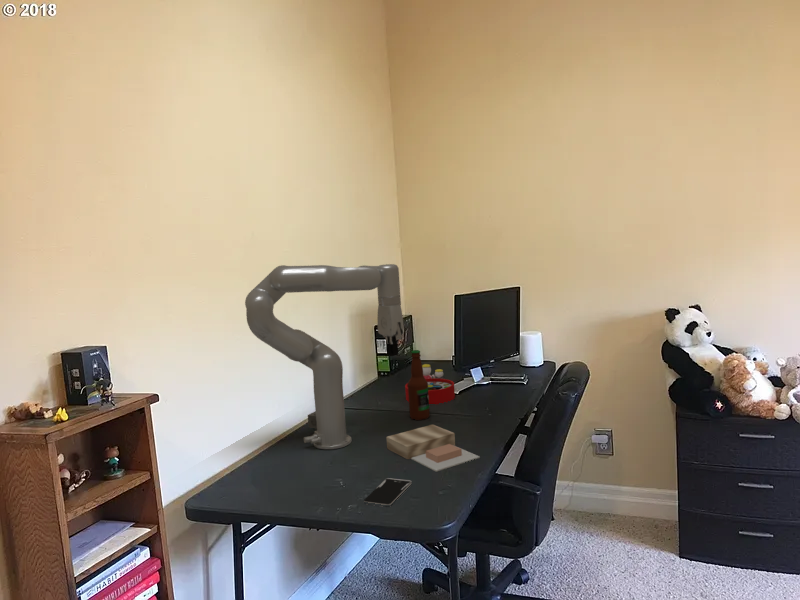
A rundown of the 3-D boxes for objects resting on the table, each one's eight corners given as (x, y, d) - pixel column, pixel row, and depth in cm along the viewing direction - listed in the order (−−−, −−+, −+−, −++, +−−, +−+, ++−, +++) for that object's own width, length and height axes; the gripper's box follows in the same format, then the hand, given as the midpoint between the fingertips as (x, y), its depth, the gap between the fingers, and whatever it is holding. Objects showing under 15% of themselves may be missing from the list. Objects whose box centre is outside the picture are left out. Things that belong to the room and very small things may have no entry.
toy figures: (446, 381, 280) (445, 363, 279) (443, 384, 276) (442, 365, 275) (420, 380, 284) (419, 362, 283) (417, 383, 280) (416, 365, 279)
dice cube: (308, 428, 226) (307, 415, 225) (316, 424, 230) (315, 411, 230) (320, 429, 223) (319, 416, 223) (327, 425, 228) (326, 412, 227)
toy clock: (399, 391, 248) (411, 378, 267) (400, 405, 248) (412, 391, 268) (449, 391, 243) (457, 378, 262) (450, 405, 243) (458, 391, 263)
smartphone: (362, 501, 161) (387, 477, 174) (363, 506, 161) (387, 482, 175) (389, 504, 158) (412, 480, 171) (390, 509, 158) (412, 485, 171)
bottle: (426, 421, 225) (422, 352, 222) (407, 420, 228) (403, 352, 225) (432, 414, 232) (428, 348, 229) (413, 414, 235) (409, 348, 232)
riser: (407, 459, 189) (406, 446, 189) (387, 448, 200) (386, 436, 199) (455, 445, 199) (454, 433, 198) (433, 436, 209) (432, 424, 208)
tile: (425, 450, 189) (425, 457, 189) (437, 456, 184) (437, 462, 184) (449, 443, 194) (449, 450, 194) (461, 448, 189) (461, 455, 189)
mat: (436, 471, 178) (436, 470, 178) (411, 459, 189) (411, 457, 189) (479, 457, 187) (479, 456, 187) (453, 446, 198) (453, 445, 198)
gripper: (368, 301, 214) (372, 354, 216) (391, 304, 201) (395, 360, 203) (387, 298, 218) (391, 350, 220) (411, 301, 205) (414, 356, 207)
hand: (393, 355), depth 211 cm, fingers closed
